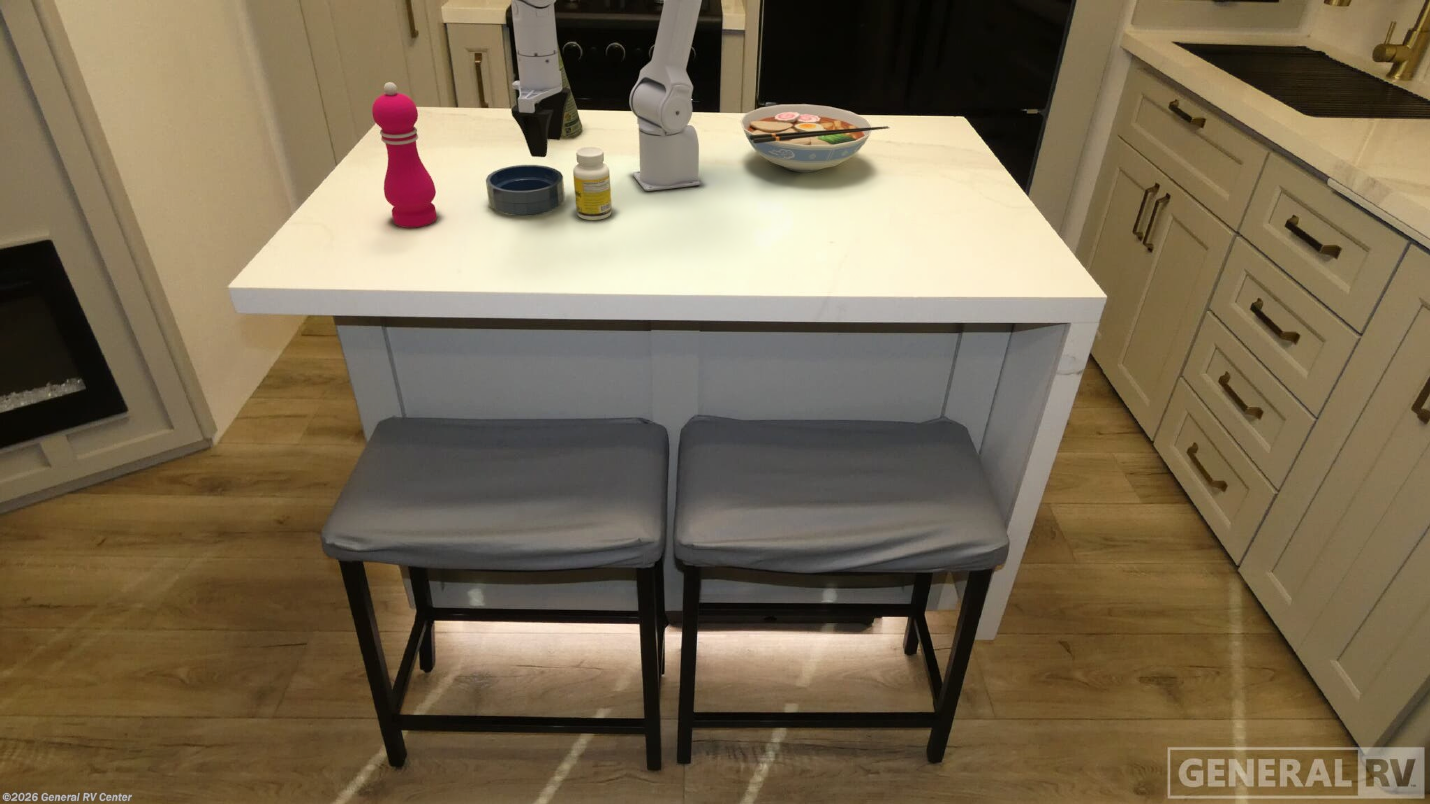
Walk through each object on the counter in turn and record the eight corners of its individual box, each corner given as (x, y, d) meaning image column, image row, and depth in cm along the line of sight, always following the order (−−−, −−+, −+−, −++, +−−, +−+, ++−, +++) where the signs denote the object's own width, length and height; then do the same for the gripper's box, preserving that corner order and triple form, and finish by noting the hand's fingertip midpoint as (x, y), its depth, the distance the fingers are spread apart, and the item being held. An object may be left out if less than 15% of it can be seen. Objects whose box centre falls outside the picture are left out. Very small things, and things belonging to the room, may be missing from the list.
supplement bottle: (577, 207, 135) (572, 145, 129) (612, 206, 135) (609, 145, 130) (575, 221, 130) (570, 157, 125) (611, 220, 131) (608, 157, 125)
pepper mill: (449, 213, 132) (427, 78, 120) (421, 232, 126) (395, 92, 114) (409, 206, 134) (383, 72, 122) (380, 224, 128) (349, 86, 116)
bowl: (556, 186, 142) (554, 161, 139) (572, 213, 133) (569, 187, 130) (484, 194, 138) (481, 168, 136) (495, 222, 129) (492, 195, 127)
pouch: (557, 144, 158) (544, -4, 144) (509, 131, 163) (492, -13, 149) (596, 129, 166) (588, -14, 151) (549, 117, 171) (537, -22, 157)
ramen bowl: (839, 138, 164) (844, 94, 160) (896, 181, 147) (904, 133, 142) (715, 150, 158) (716, 104, 153) (759, 196, 140) (762, 146, 135)
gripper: (525, 38, 127) (535, 130, 135) (491, 63, 115) (504, 162, 123) (572, 40, 126) (579, 132, 134) (543, 66, 115) (552, 165, 123)
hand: (546, 147), depth 129 cm, fingers open, 7 cm apart
